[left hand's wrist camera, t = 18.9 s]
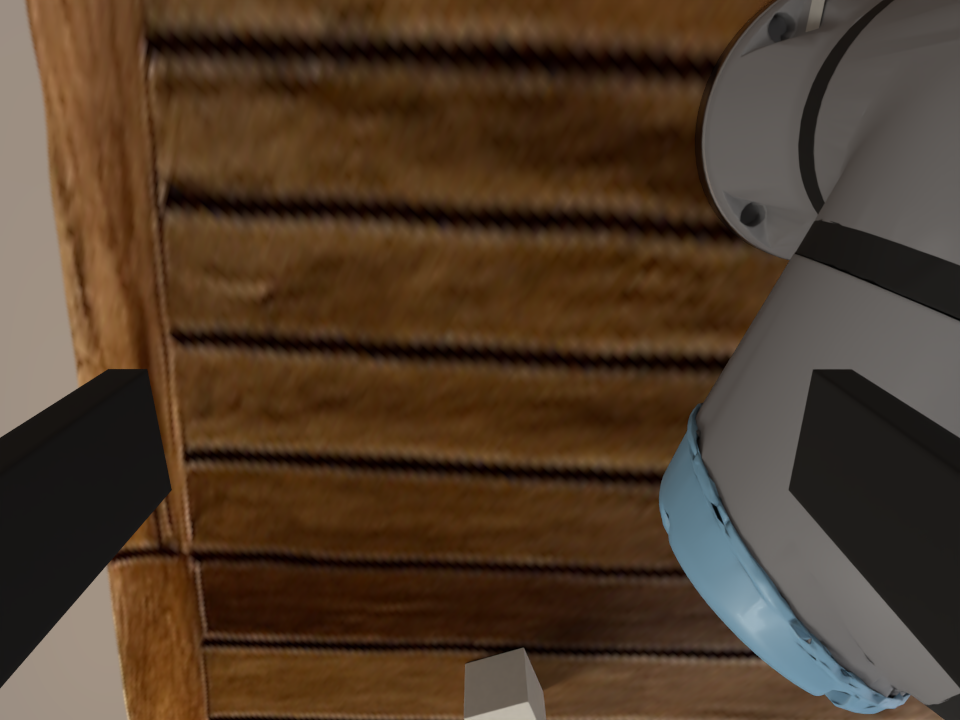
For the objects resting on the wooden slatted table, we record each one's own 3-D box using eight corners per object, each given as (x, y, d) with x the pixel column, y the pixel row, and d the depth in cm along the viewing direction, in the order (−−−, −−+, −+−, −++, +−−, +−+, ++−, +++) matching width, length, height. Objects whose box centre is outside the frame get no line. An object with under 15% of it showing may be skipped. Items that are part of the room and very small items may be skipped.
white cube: (523, 647, 49) (528, 701, 44) (543, 691, 50) (549, 748, 46) (465, 663, 49) (463, 719, 45) (485, 706, 51) (486, 764, 46)
